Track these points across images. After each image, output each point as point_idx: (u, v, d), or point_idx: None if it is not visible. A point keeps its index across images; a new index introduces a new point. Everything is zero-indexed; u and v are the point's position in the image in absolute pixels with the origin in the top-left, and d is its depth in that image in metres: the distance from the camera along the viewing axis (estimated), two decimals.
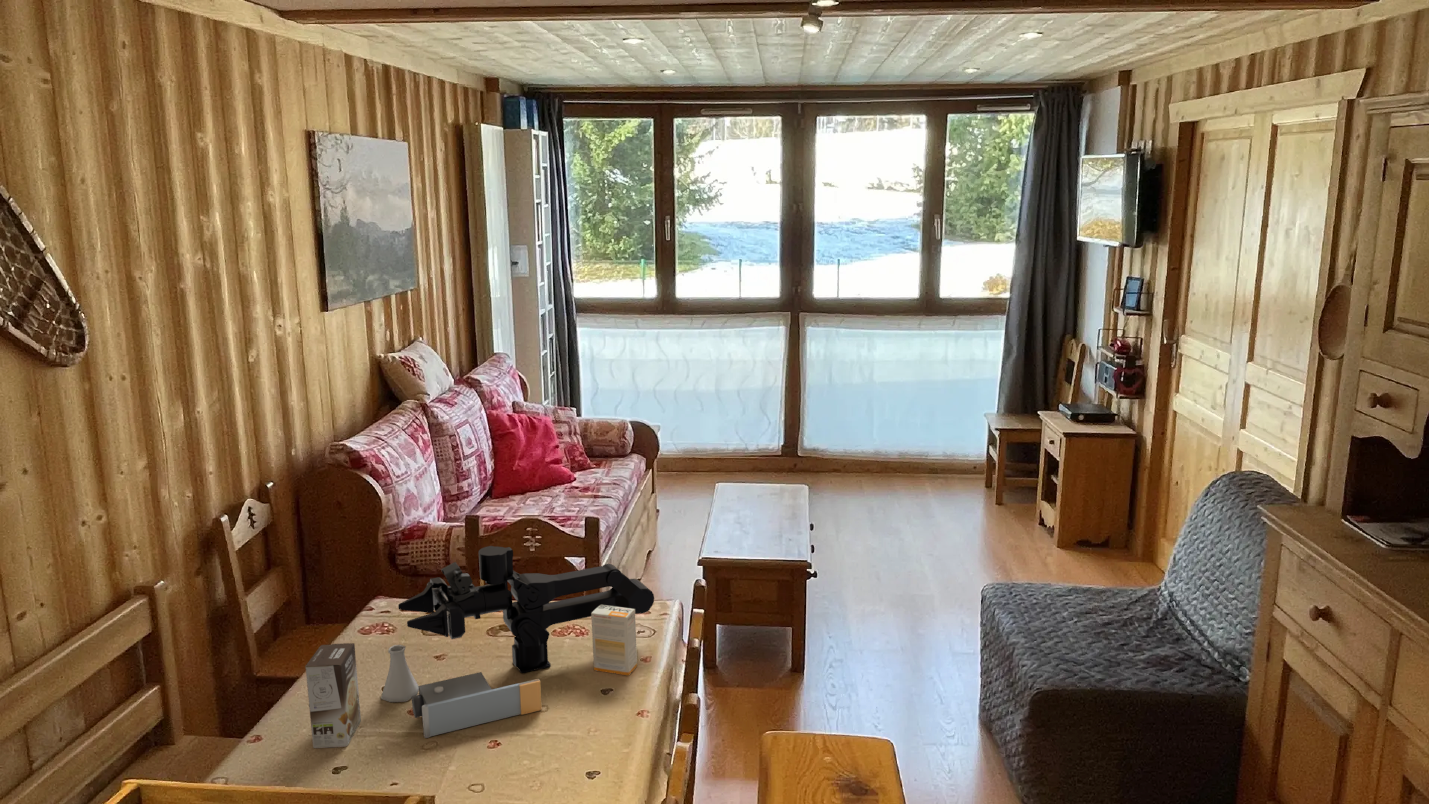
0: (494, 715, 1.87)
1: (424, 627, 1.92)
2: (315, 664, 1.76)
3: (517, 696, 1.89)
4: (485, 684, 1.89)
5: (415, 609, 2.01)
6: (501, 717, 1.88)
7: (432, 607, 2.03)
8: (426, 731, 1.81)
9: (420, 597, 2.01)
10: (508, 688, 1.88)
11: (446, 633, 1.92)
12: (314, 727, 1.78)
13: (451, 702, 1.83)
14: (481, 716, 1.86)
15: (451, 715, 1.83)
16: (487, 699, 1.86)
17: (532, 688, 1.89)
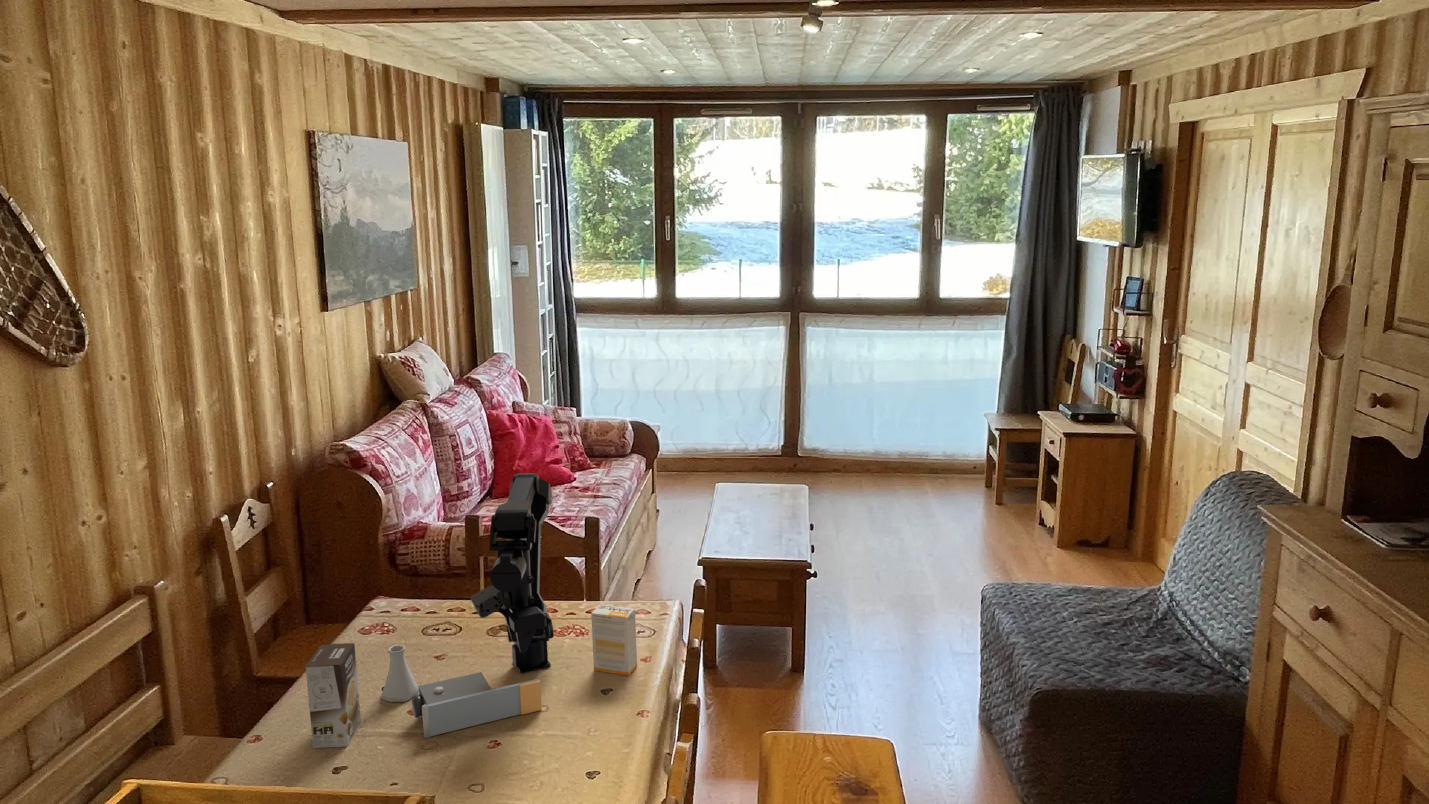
0: (494, 715, 1.87)
1: (528, 638, 1.90)
2: (315, 664, 1.76)
3: (517, 696, 1.89)
4: (485, 684, 1.89)
5: None
6: (501, 717, 1.88)
7: None
8: (426, 731, 1.81)
9: (508, 621, 1.95)
10: (508, 688, 1.88)
11: None
12: (314, 727, 1.78)
13: (451, 702, 1.83)
14: (481, 716, 1.86)
15: (451, 715, 1.83)
16: (487, 699, 1.86)
17: (532, 688, 1.89)
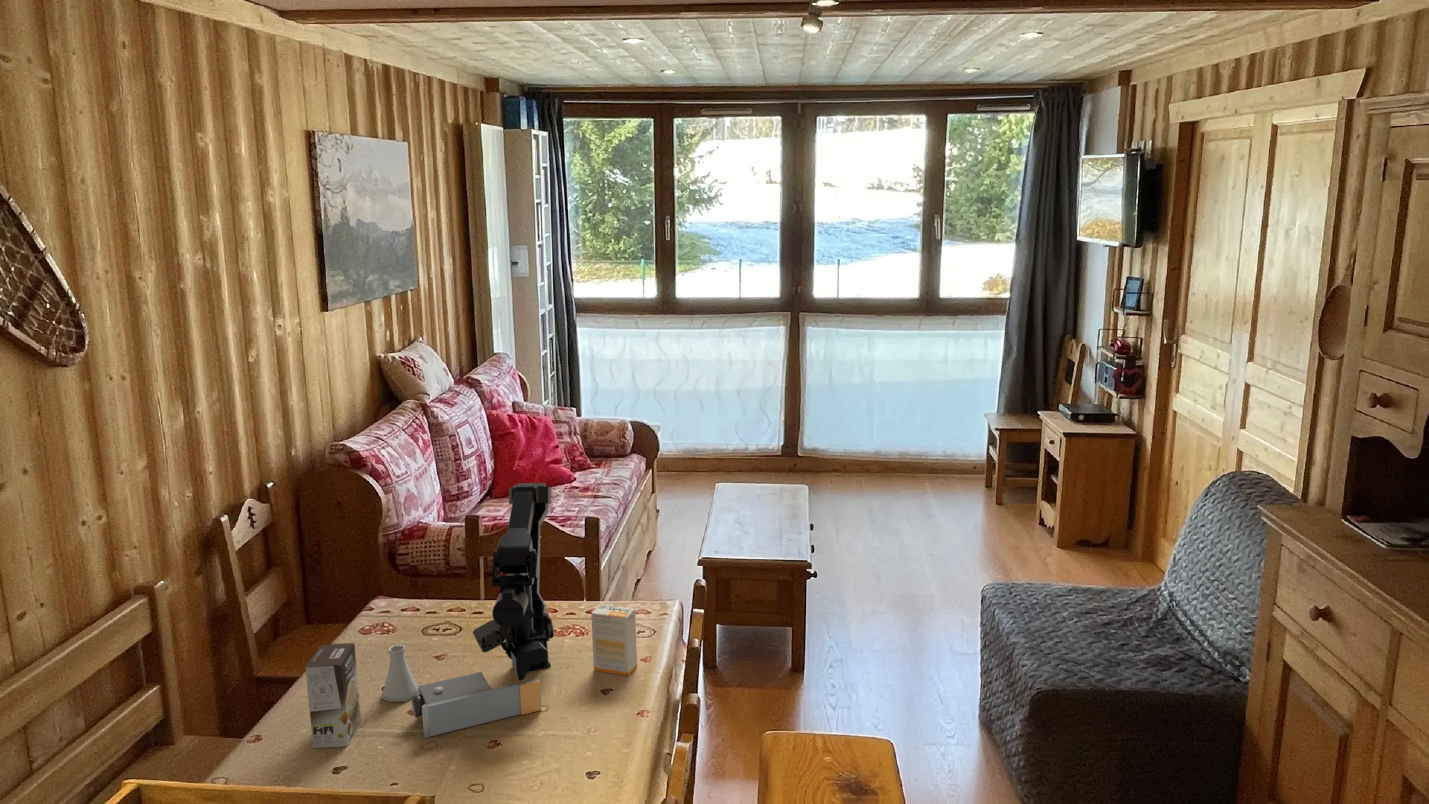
0: (494, 715, 1.87)
1: (526, 666, 1.94)
2: (315, 664, 1.76)
3: (517, 696, 1.89)
4: (485, 684, 1.89)
5: None
6: (501, 717, 1.88)
7: None
8: (426, 731, 1.81)
9: None
10: (508, 688, 1.88)
11: None
12: (314, 727, 1.78)
13: (451, 702, 1.83)
14: (481, 716, 1.86)
15: (451, 715, 1.83)
16: (487, 699, 1.86)
17: (532, 688, 1.89)
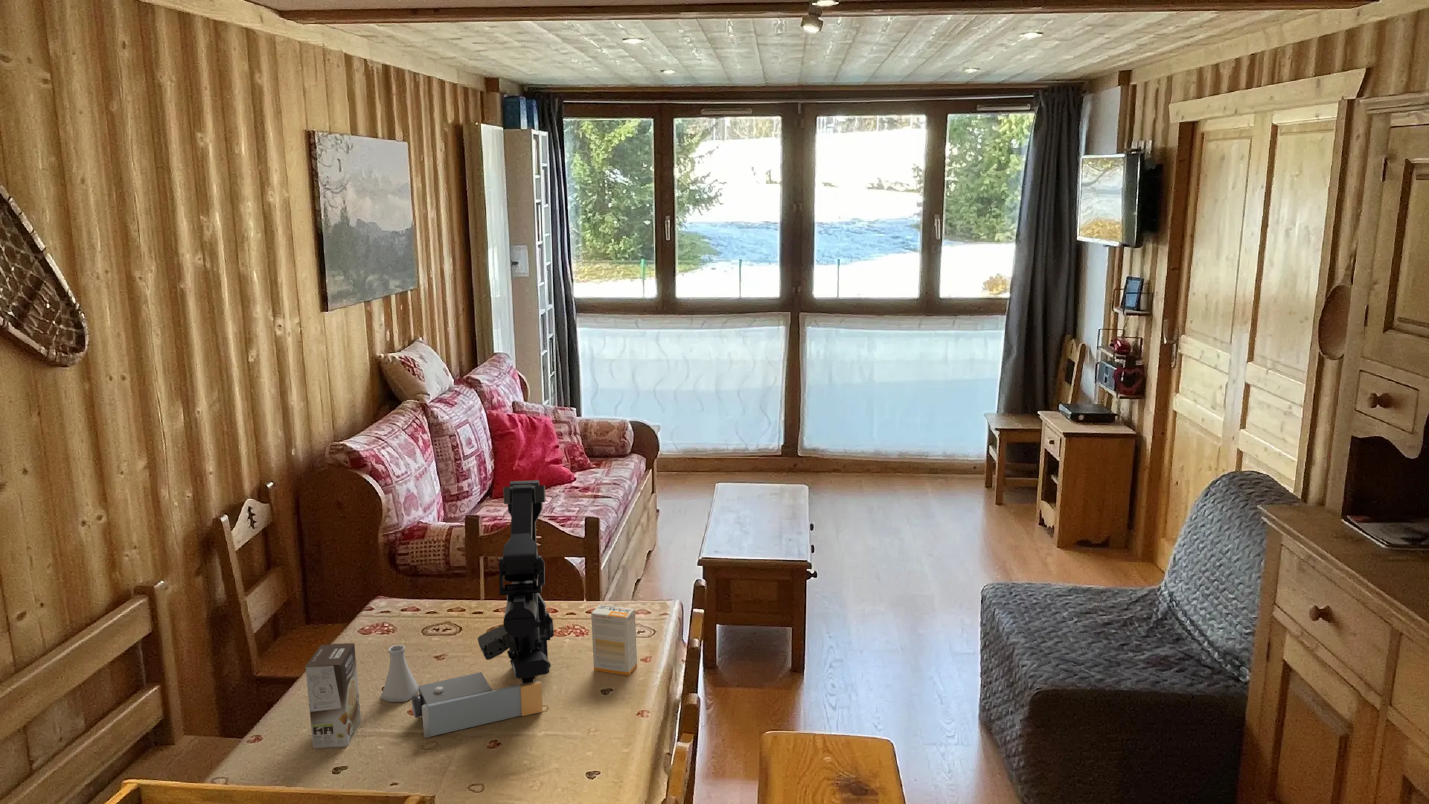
0: (494, 716, 1.87)
1: None
2: (315, 664, 1.76)
3: (518, 697, 1.88)
4: (485, 684, 1.89)
5: None
6: (502, 718, 1.88)
7: None
8: (426, 731, 1.81)
9: None
10: (509, 689, 1.87)
11: None
12: (314, 727, 1.78)
13: (451, 702, 1.83)
14: (481, 717, 1.86)
15: (451, 715, 1.83)
16: (488, 700, 1.86)
17: (533, 690, 1.89)
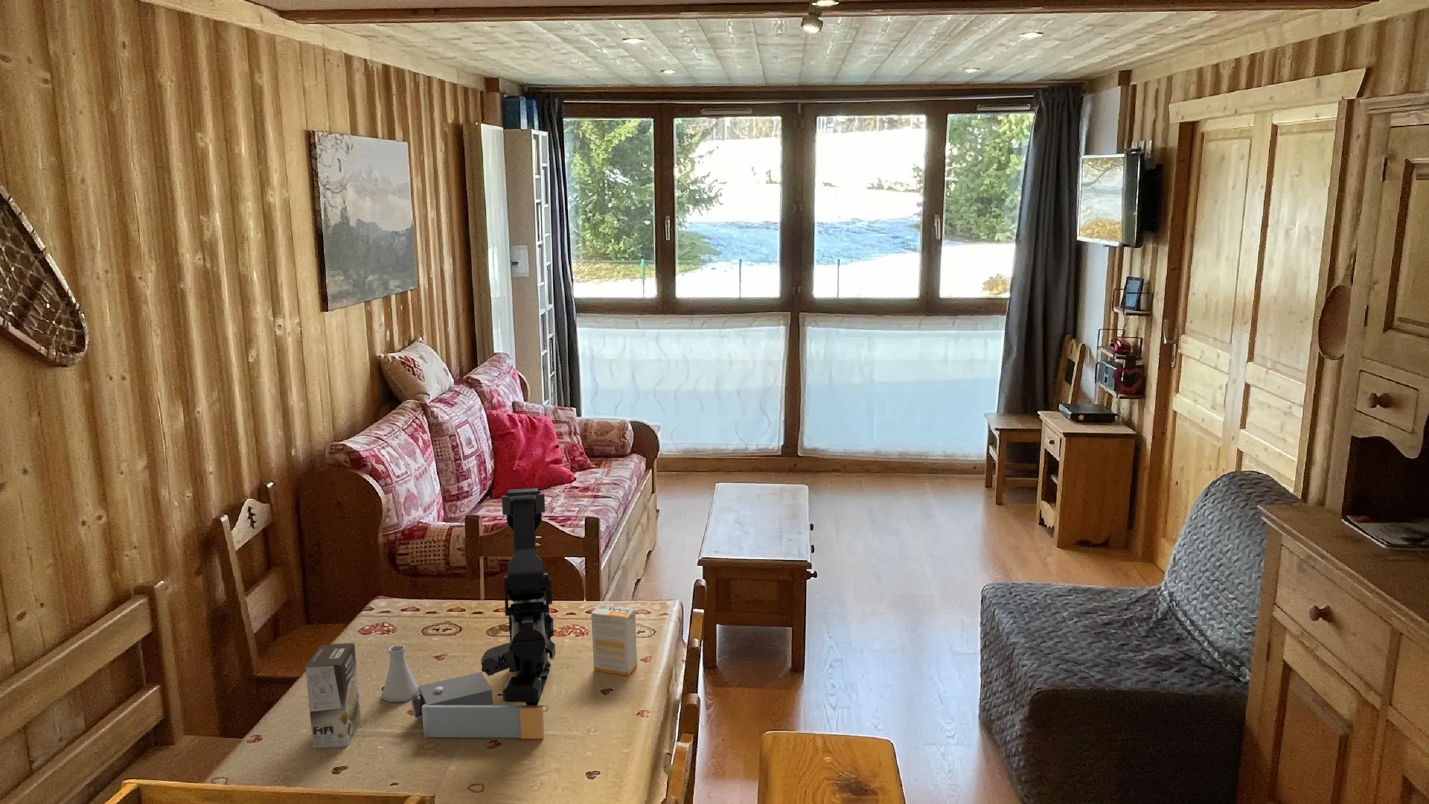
0: (493, 732, 1.81)
1: None
2: (315, 664, 1.76)
3: (518, 718, 1.81)
4: (485, 684, 1.89)
5: None
6: (501, 736, 1.82)
7: (540, 677, 1.82)
8: (425, 731, 1.81)
9: None
10: (508, 708, 1.80)
11: None
12: (314, 727, 1.78)
13: (450, 708, 1.81)
14: (480, 730, 1.81)
15: (450, 721, 1.81)
16: (487, 714, 1.81)
17: (533, 714, 1.80)
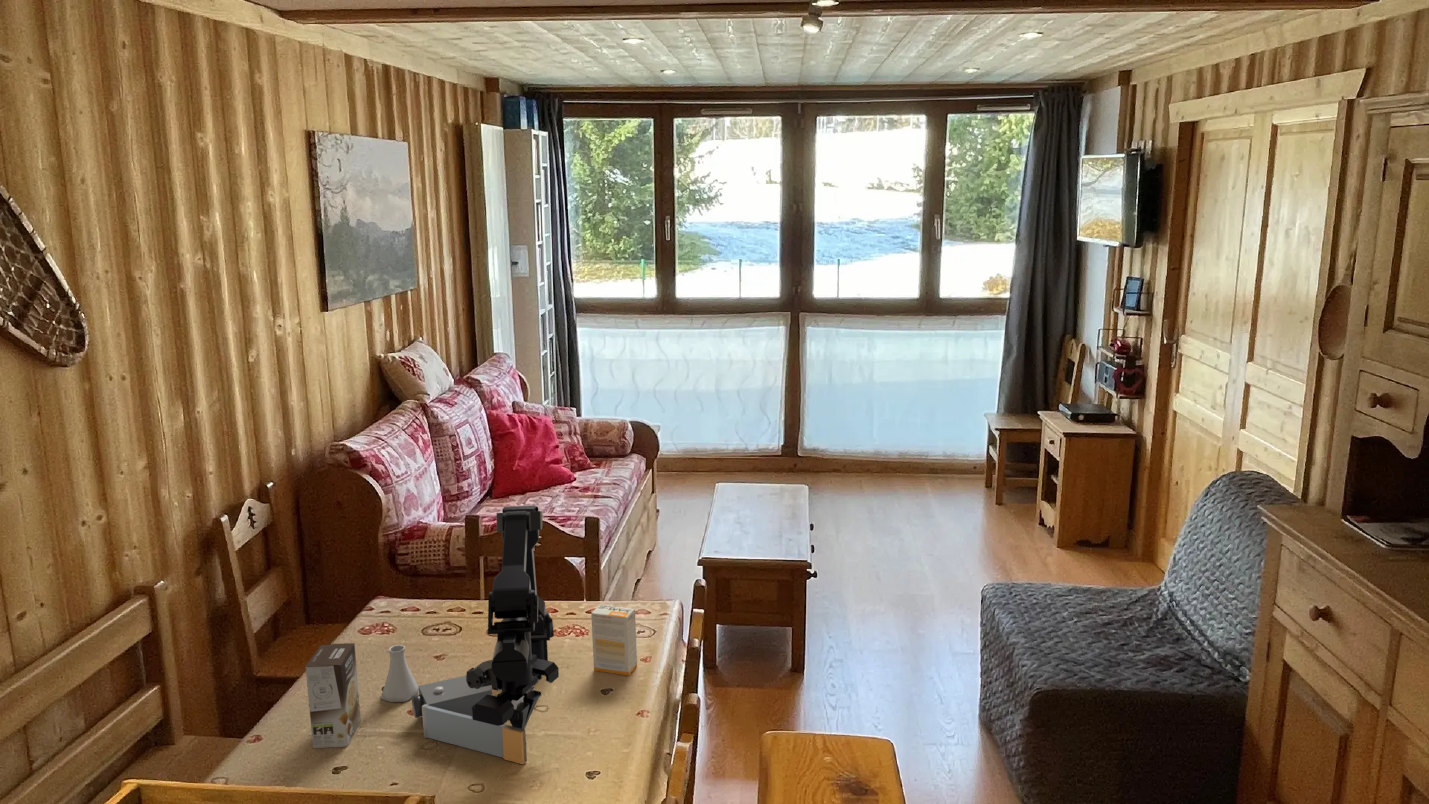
0: (481, 747, 1.77)
1: (519, 722, 1.73)
2: (315, 664, 1.76)
3: (501, 737, 1.74)
4: None
5: None
6: (487, 752, 1.76)
7: (527, 699, 1.74)
8: (424, 730, 1.81)
9: None
10: (493, 725, 1.75)
11: (515, 712, 1.70)
12: (314, 727, 1.78)
13: (444, 713, 1.79)
14: (469, 741, 1.78)
15: (444, 726, 1.79)
16: (475, 727, 1.76)
17: (513, 737, 1.73)
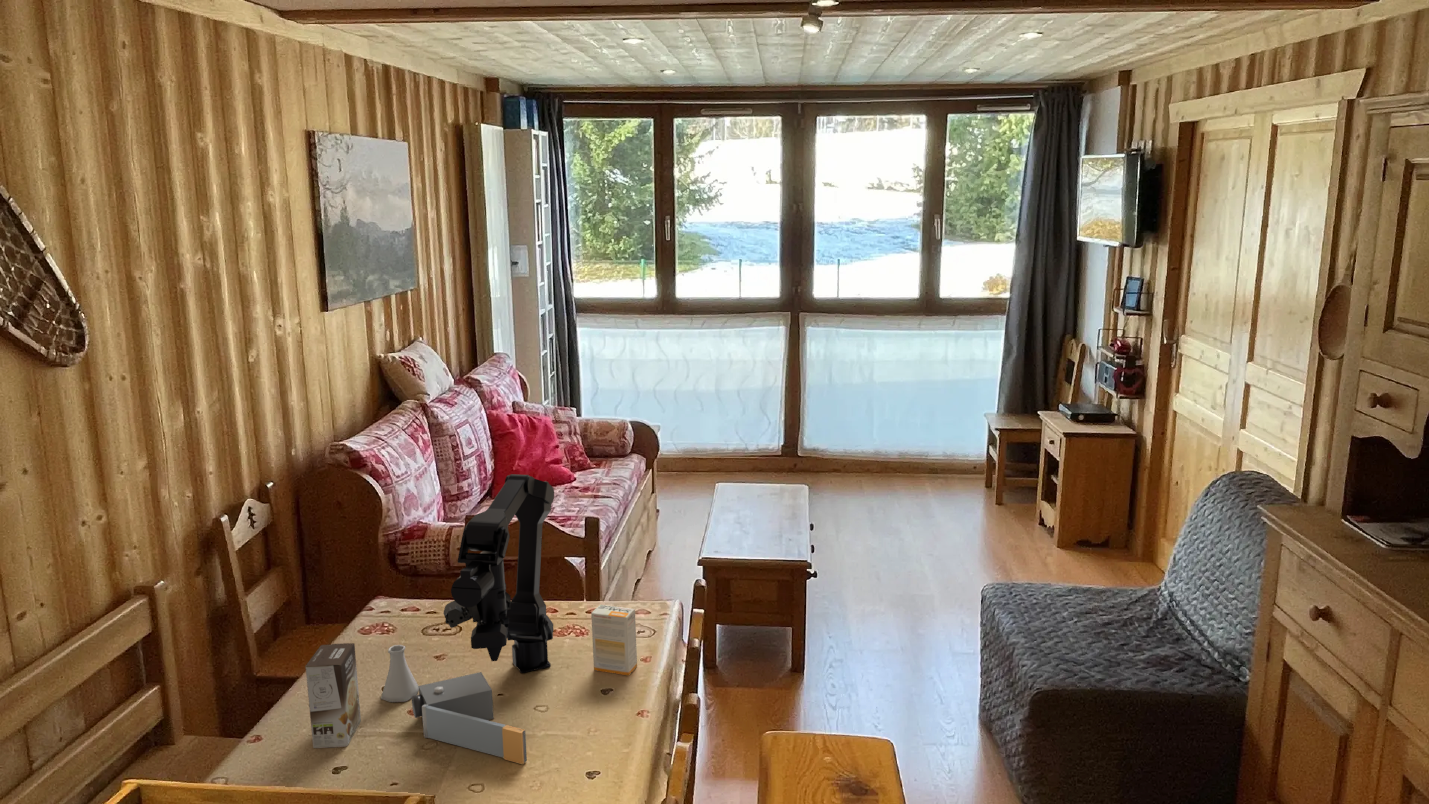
0: (480, 747, 1.77)
1: (498, 647, 1.87)
2: (315, 664, 1.76)
3: (501, 738, 1.74)
4: (485, 684, 1.89)
5: None
6: (487, 752, 1.76)
7: None
8: (424, 730, 1.81)
9: None
10: (493, 725, 1.75)
11: None
12: (314, 727, 1.78)
13: (444, 713, 1.79)
14: (469, 741, 1.78)
15: (444, 726, 1.79)
16: (475, 727, 1.76)
17: (513, 737, 1.73)
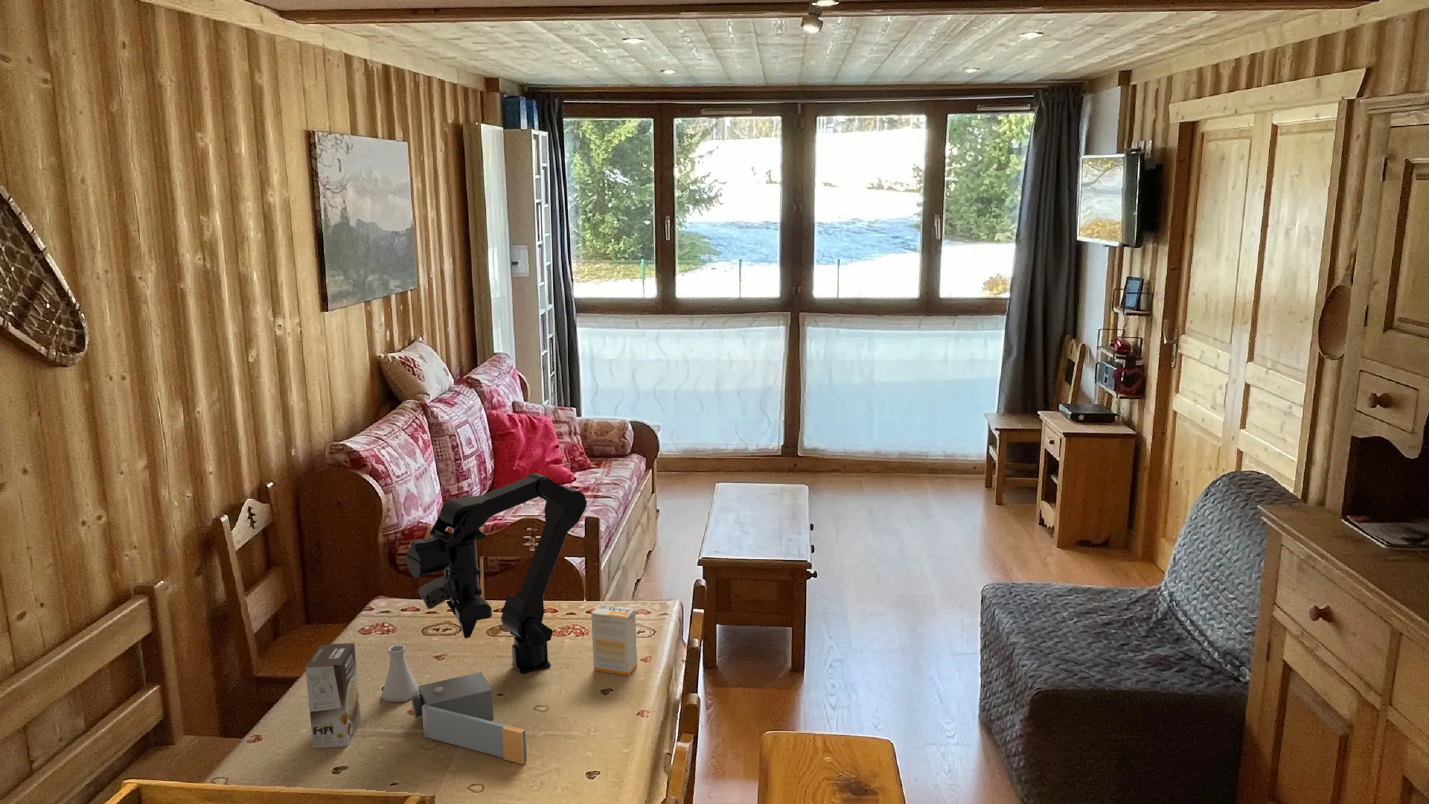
0: (480, 747, 1.77)
1: (472, 624, 1.97)
2: (315, 664, 1.76)
3: (501, 738, 1.74)
4: (485, 684, 1.89)
5: None
6: (487, 752, 1.76)
7: None
8: (424, 730, 1.81)
9: None
10: (493, 725, 1.75)
11: None
12: (314, 727, 1.78)
13: (444, 713, 1.79)
14: (469, 741, 1.78)
15: (444, 726, 1.79)
16: (475, 727, 1.76)
17: (513, 737, 1.73)
